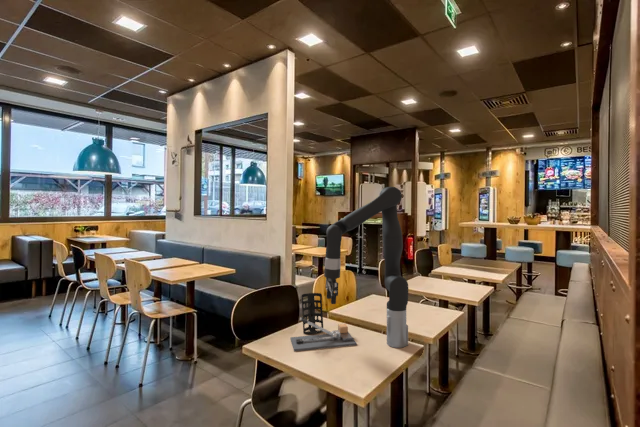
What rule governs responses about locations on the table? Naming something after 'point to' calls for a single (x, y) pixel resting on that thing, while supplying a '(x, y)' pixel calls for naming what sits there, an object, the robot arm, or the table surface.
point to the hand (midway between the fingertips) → (331, 301)
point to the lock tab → (342, 328)
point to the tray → (319, 343)
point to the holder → (312, 312)
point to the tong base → (328, 338)
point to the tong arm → (315, 326)
